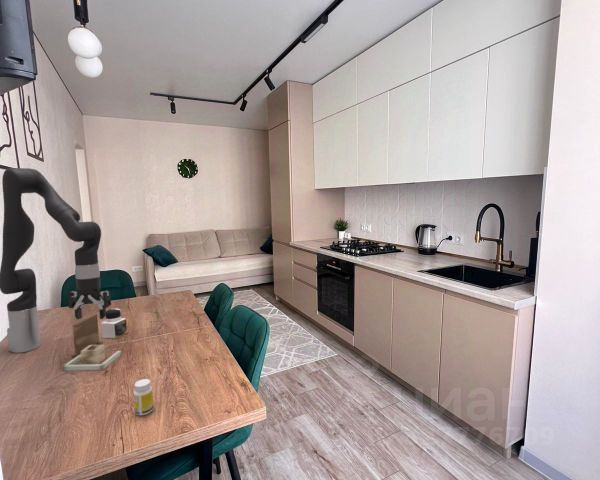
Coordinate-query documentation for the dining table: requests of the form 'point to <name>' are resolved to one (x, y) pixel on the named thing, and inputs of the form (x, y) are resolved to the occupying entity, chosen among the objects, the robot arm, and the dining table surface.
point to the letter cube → (93, 354)
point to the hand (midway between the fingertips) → (91, 318)
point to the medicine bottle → (113, 324)
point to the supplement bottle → (143, 397)
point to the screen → (85, 334)
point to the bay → (102, 366)
